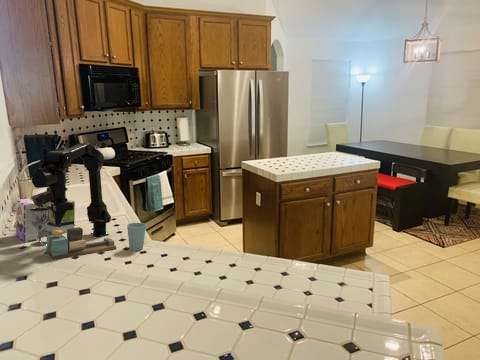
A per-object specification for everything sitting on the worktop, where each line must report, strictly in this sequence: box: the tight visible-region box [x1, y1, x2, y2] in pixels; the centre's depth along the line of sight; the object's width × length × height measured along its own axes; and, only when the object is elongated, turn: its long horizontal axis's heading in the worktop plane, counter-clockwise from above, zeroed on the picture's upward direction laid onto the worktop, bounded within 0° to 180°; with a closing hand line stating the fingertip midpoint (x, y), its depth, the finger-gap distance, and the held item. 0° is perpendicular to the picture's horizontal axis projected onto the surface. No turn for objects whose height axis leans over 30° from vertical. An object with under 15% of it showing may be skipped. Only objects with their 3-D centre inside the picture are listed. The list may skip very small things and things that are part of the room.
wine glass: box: [29, 207, 51, 248], centre depth 150 cm, size 8×8×15 cm
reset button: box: [51, 230, 63, 236], centre depth 138 cm, size 4×4×1 cm
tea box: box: [39, 199, 76, 234], centre depth 173 cm, size 15×10×15 cm, turn 58°
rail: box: [45, 234, 117, 260], centre depth 145 cm, size 10×24×7 cm, turn 133°
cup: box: [126, 222, 147, 251], centre depth 151 cm, size 8×8×10 cm
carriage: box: [66, 226, 87, 251], centre depth 142 cm, size 7×6×8 cm
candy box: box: [14, 198, 39, 243], centre depth 158 cm, size 14×6×16 cm, turn 45°
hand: (57, 225), depth 137 cm, fingers closed
